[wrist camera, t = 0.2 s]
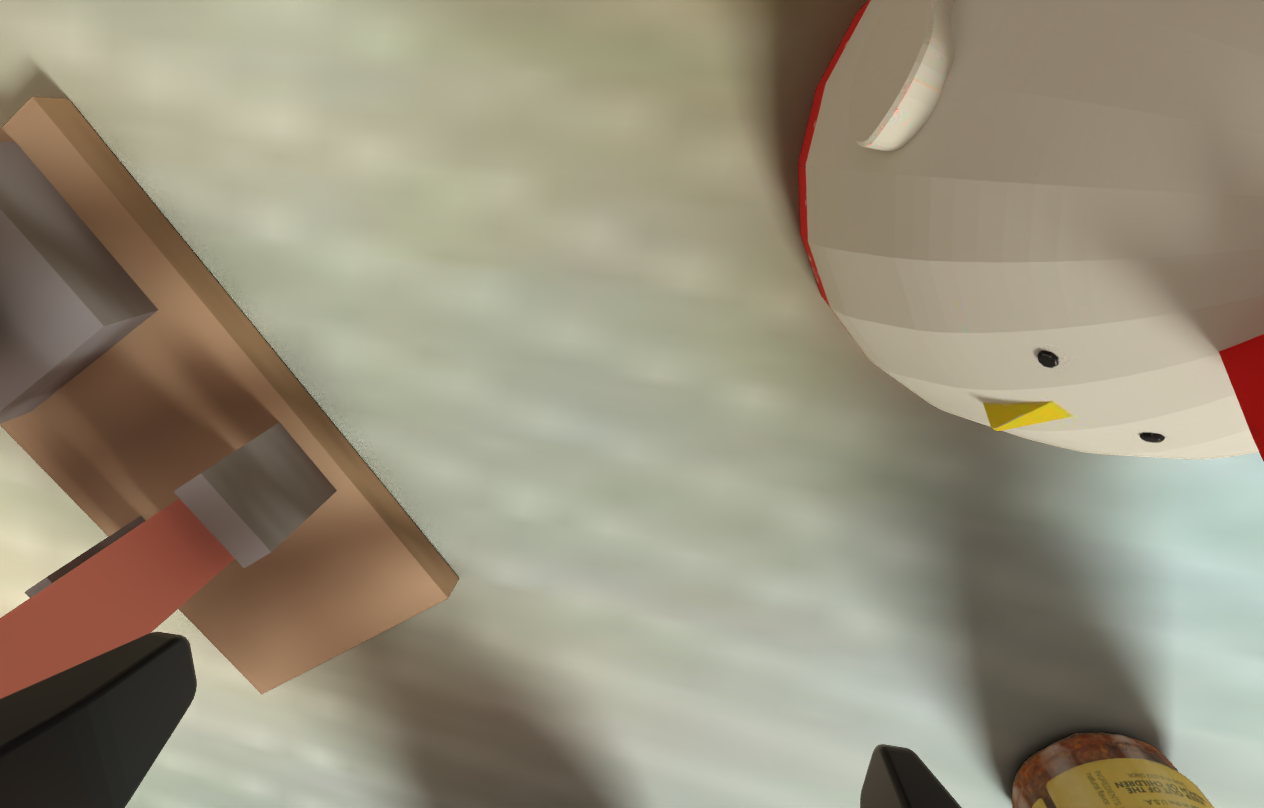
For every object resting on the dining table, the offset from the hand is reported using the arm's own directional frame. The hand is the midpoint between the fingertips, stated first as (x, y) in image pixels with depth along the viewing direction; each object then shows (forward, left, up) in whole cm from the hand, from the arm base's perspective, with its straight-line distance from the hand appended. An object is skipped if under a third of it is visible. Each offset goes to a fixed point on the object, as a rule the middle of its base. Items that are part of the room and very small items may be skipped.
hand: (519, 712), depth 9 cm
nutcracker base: (-4, +16, -14) cm, 22 cm away
